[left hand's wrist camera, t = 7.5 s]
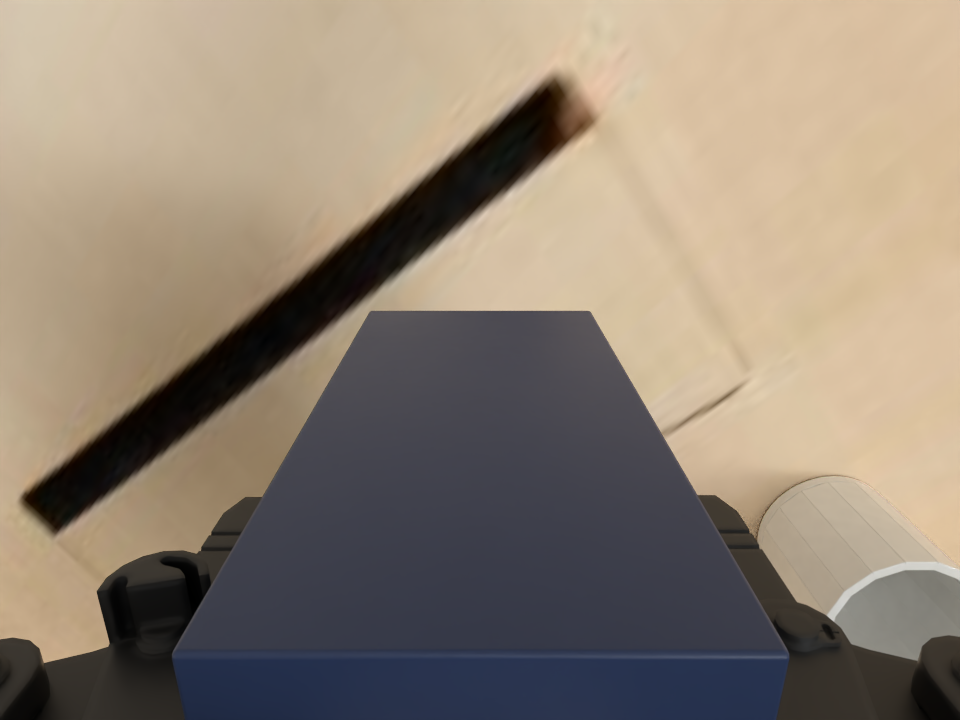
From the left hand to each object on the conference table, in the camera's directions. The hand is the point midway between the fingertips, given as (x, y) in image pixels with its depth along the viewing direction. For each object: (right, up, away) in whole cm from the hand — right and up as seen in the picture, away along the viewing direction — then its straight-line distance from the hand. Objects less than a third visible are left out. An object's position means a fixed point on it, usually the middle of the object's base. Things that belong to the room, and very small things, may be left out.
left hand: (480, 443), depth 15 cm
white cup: (+17, -7, +17) cm, 25 cm away
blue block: (0, -8, +4) cm, 9 cm away
